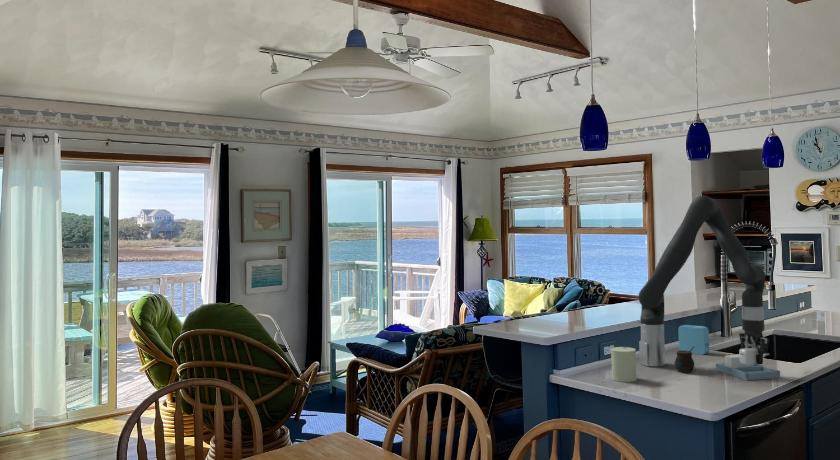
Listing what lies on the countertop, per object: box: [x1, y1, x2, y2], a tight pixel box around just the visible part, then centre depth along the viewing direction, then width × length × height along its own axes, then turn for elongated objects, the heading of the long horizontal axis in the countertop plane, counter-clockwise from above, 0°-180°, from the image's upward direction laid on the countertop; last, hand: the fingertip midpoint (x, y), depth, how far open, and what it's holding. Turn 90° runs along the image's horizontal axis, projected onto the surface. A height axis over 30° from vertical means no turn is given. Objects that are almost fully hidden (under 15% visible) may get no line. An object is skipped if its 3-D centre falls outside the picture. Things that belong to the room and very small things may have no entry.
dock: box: [715, 354, 781, 381], centre depth 245 cm, size 14×18×6 cm
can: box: [610, 346, 637, 383], centre depth 243 cm, size 9×9×12 cm
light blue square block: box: [678, 324, 710, 356], centre depth 286 cm, size 12×4×12 cm, turn 41°
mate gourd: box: [674, 346, 695, 374], centre depth 252 cm, size 7×8×10 cm
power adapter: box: [738, 348, 770, 365], centre depth 241 cm, size 11×5×6 cm, turn 104°
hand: (754, 362), depth 241 cm, fingers closed on power adapter, 5 cm apart
